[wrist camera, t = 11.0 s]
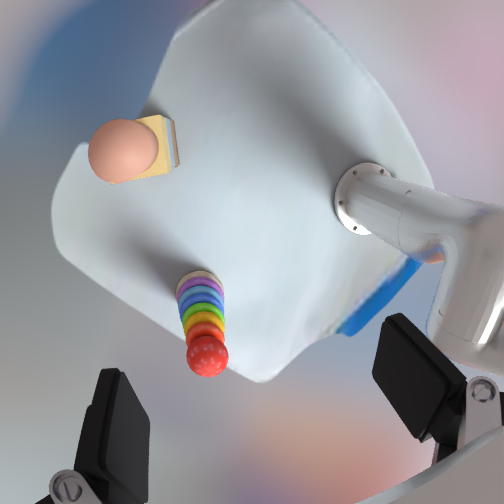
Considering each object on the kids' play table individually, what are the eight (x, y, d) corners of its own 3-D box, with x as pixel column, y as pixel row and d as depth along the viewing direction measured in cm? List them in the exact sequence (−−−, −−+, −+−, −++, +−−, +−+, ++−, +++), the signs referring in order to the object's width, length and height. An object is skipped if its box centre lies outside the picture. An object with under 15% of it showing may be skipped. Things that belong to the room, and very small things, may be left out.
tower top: (165, 118, 29) (159, 114, 24) (171, 168, 31) (167, 173, 26) (116, 128, 28) (102, 127, 23) (123, 177, 30) (111, 184, 26)
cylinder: (155, 118, 24) (144, 112, 19) (162, 169, 26) (153, 176, 21) (106, 129, 24) (84, 127, 18) (113, 178, 26) (93, 189, 20)
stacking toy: (176, 310, 49) (172, 391, 32) (176, 267, 46) (168, 341, 29) (221, 311, 50) (236, 390, 33) (225, 269, 48) (243, 342, 31)
